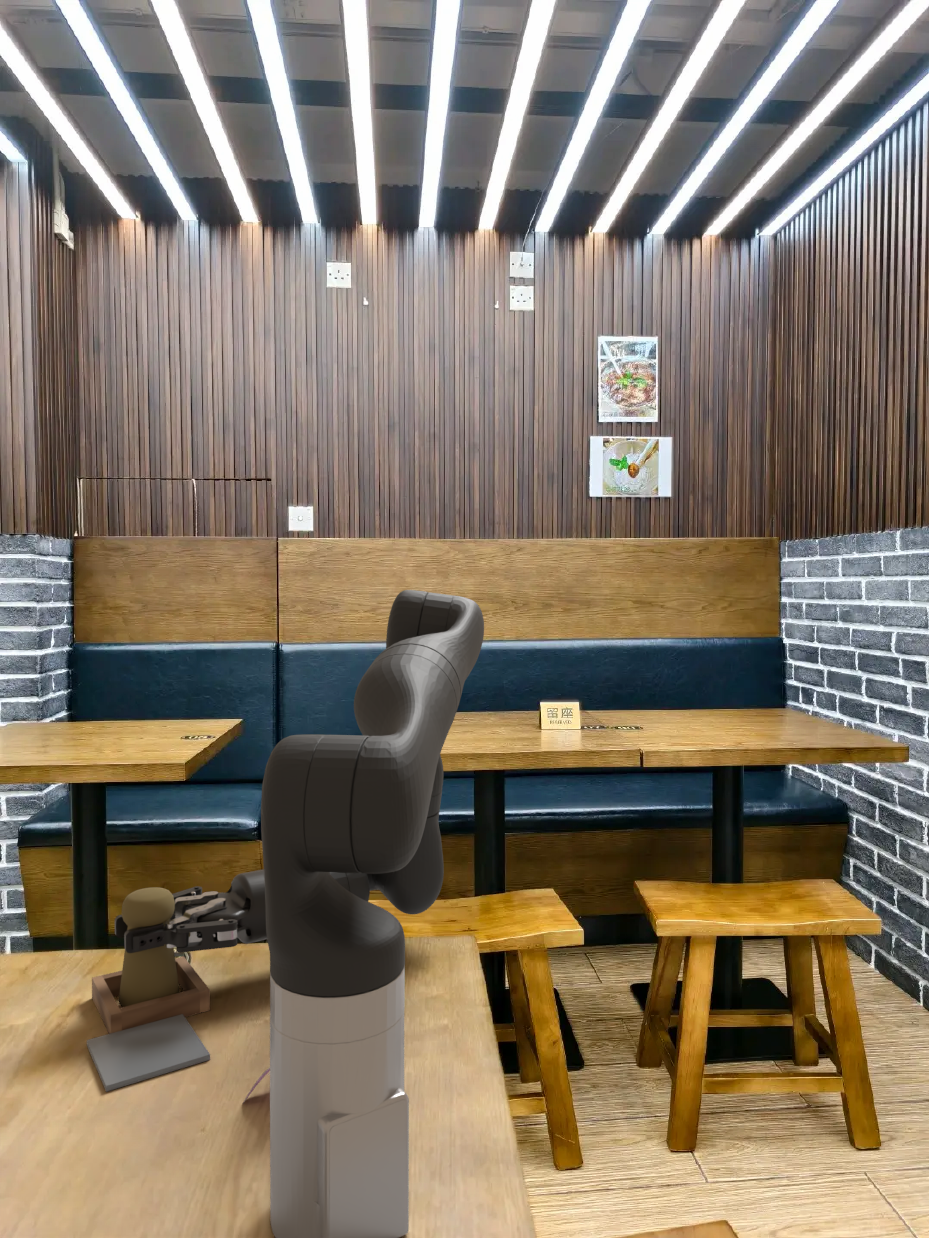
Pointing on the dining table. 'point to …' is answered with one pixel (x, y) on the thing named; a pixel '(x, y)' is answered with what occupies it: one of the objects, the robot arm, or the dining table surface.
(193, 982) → the caddy
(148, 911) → the cork
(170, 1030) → the plate
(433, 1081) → the dining table surface
